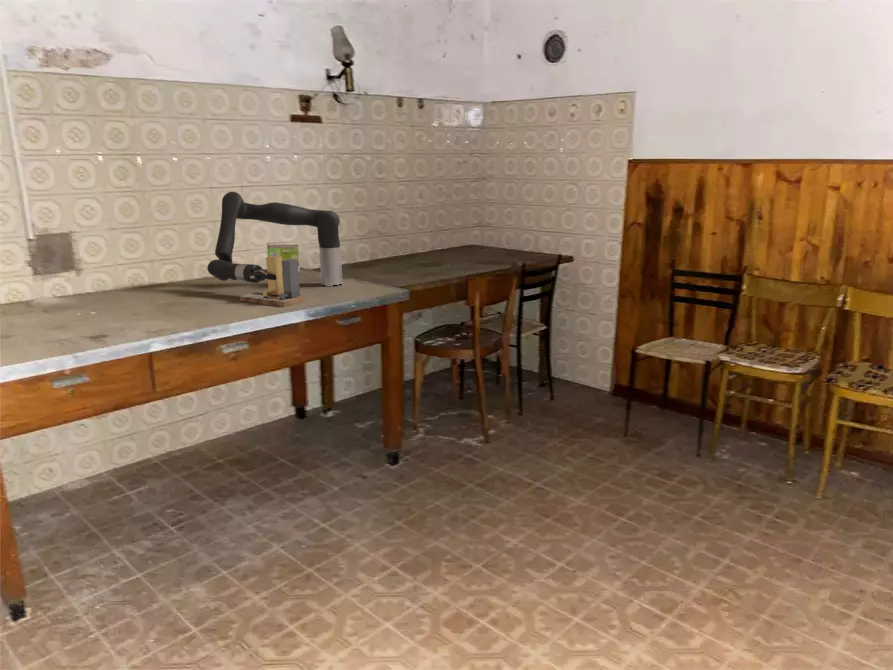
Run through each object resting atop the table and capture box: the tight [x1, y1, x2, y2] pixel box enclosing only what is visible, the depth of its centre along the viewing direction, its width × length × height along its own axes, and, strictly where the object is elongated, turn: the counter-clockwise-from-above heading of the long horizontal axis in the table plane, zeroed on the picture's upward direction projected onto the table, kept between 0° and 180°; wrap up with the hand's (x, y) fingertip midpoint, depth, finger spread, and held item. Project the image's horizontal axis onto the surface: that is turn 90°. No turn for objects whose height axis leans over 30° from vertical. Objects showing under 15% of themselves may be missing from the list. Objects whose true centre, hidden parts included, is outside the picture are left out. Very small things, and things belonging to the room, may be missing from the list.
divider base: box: [239, 259, 306, 308], centre depth 273 cm, size 23×13×17 cm, turn 62°
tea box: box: [266, 241, 300, 273], centre depth 341 cm, size 15×10×15 cm, turn 106°
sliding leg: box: [263, 256, 284, 297], centre depth 273 cm, size 4×10×15 cm, turn 152°
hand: (280, 276), depth 274 cm, fingers closed on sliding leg, 5 cm apart
